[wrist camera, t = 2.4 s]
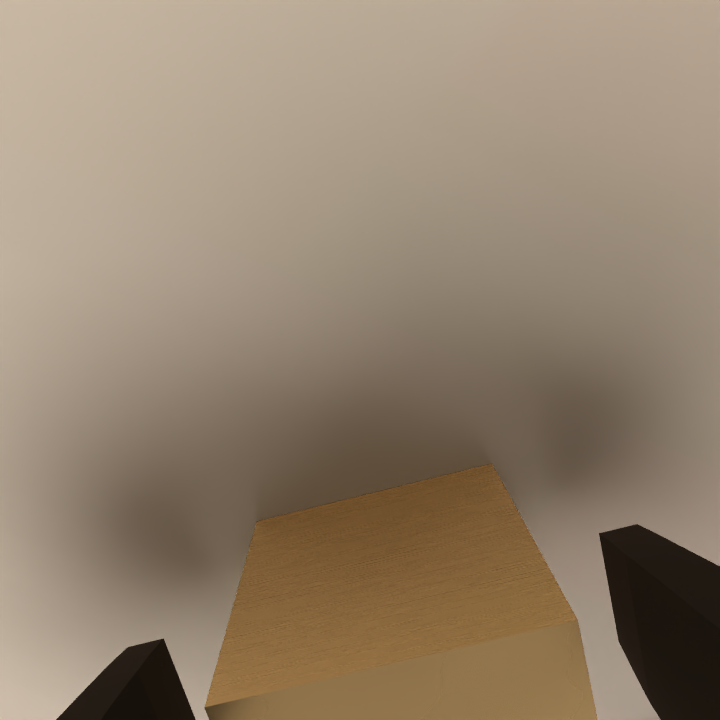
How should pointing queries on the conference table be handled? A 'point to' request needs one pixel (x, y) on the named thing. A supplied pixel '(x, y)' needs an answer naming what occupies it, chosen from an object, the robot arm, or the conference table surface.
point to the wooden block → (402, 614)
